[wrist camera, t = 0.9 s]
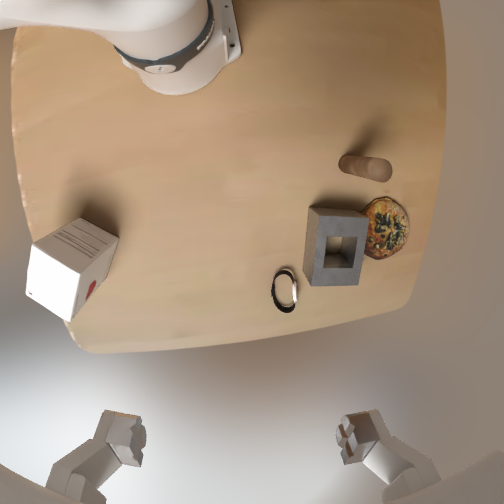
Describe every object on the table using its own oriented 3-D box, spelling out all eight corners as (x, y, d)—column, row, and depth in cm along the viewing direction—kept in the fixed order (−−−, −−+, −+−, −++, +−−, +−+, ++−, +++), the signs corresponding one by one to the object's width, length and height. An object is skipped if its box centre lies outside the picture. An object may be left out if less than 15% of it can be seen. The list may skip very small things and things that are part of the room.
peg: (339, 153, 42) (373, 157, 31) (355, 156, 42) (393, 160, 31) (337, 172, 43) (371, 181, 32) (354, 173, 43) (391, 183, 32)
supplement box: (106, 280, 47) (70, 325, 33) (68, 258, 45) (23, 295, 31) (121, 238, 45) (81, 274, 31) (79, 215, 43) (30, 242, 29)
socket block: (308, 207, 45) (319, 215, 39) (353, 209, 45) (369, 218, 40) (302, 270, 49) (311, 286, 43) (345, 270, 49) (358, 285, 44)
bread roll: (349, 257, 48) (362, 264, 44) (354, 194, 46) (368, 195, 41) (398, 258, 50) (413, 264, 45) (404, 200, 47) (420, 202, 43)
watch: (298, 304, 51) (302, 315, 48) (272, 308, 51) (275, 319, 48) (294, 266, 49) (299, 274, 45) (267, 270, 49) (270, 279, 45)
